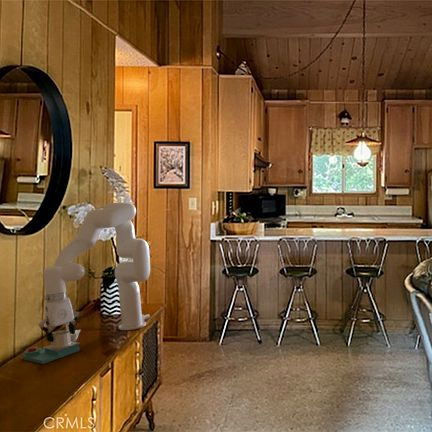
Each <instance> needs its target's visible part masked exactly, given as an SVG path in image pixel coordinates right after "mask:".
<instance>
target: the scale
mask: <svg viewBox="0 0 432 432" xmlns="http://www.w3.org/2000/svg"><path fill="white" fill-rule="evenodd" d="M22 359H23V360H24V361H28V362H33V363H37V364H41V365H43V364H46V363H50V362H52V361H55V360H57V359H59V358H58V355H54V354H50V353H46V352H45V350H44V349H43V348H41V347H37V351H34V352H29V351H28V349H26V350H25V351H24V353H23V355H22Z"/></svg>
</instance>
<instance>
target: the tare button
mask: <svg viewBox="0 0 432 432" xmlns="http://www.w3.org/2000/svg"><path fill="white" fill-rule="evenodd" d="M37 348H38V346H36V345H34V346H29V347H28V349H27V350H28V351H29V352H34V351H37Z"/></svg>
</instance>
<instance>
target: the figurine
mask: <svg viewBox="0 0 432 432" xmlns="http://www.w3.org/2000/svg"><path fill="white" fill-rule="evenodd" d="M69 324H70V323H65V324H64V325H65V331H69V327H68V325H69ZM80 332H81V329H75V334H70V340H71V341H73V342H76V341H77V340H78V338H79V334H80Z"/></svg>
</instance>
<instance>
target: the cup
mask: <svg viewBox="0 0 432 432" xmlns="http://www.w3.org/2000/svg"><path fill="white" fill-rule="evenodd" d="M52 333H53V342H50V345H51V347H52V348H61V347H65V346H68V345H70V344H71V340H70V331H66V330H59V331H55V332H52Z"/></svg>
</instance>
